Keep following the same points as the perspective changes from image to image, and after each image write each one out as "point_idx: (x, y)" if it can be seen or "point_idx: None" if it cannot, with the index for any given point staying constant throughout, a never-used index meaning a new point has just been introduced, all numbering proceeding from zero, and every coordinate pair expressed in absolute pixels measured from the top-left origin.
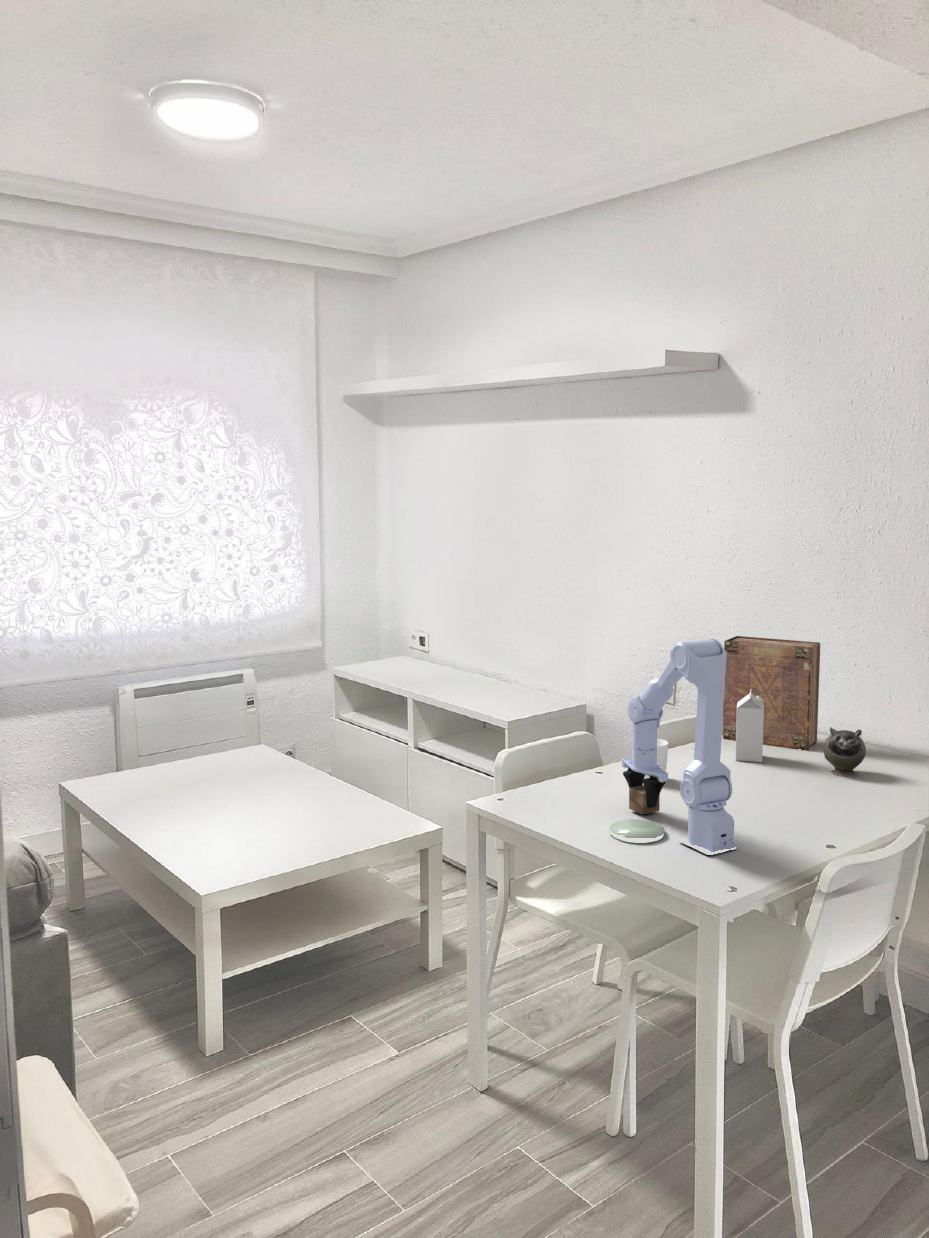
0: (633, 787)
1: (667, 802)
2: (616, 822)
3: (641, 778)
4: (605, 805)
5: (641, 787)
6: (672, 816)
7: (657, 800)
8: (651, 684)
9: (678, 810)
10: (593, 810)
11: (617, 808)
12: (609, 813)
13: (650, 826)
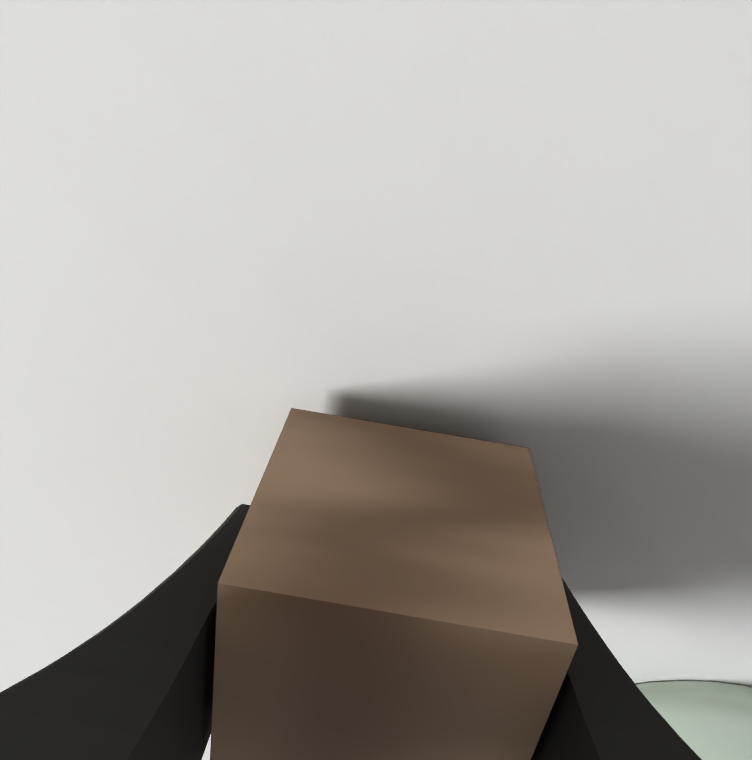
0: (221, 757)
1: (311, 27)
2: None
3: (160, 753)
4: (41, 581)
5: (288, 704)
6: (678, 389)
7: (579, 608)
8: None
9: (620, 176)
10: None
11: (158, 569)
12: None
13: None
